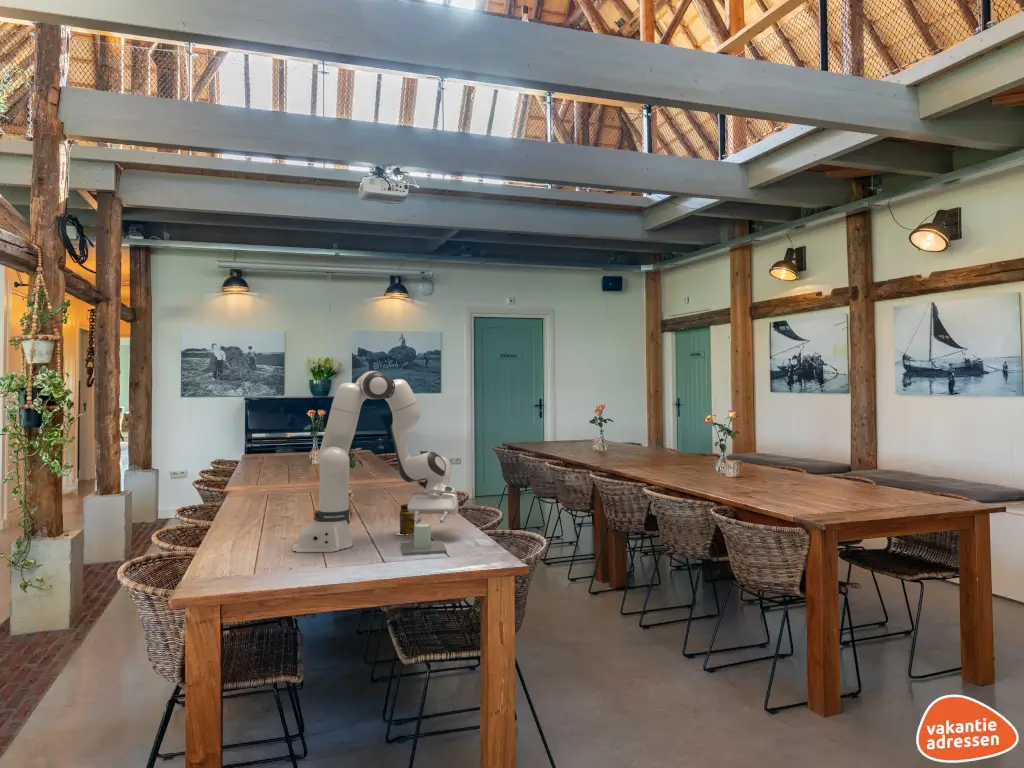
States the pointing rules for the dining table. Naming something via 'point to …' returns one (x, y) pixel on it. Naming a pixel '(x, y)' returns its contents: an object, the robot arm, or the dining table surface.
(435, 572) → the dining table surface
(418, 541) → the block
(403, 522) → the condiment
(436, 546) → the board
